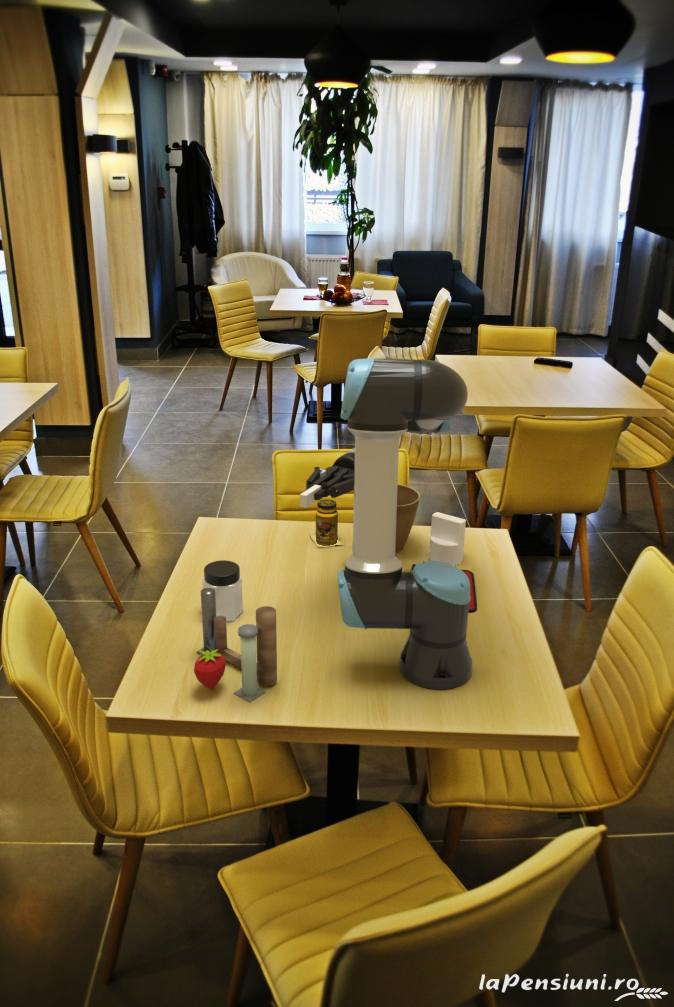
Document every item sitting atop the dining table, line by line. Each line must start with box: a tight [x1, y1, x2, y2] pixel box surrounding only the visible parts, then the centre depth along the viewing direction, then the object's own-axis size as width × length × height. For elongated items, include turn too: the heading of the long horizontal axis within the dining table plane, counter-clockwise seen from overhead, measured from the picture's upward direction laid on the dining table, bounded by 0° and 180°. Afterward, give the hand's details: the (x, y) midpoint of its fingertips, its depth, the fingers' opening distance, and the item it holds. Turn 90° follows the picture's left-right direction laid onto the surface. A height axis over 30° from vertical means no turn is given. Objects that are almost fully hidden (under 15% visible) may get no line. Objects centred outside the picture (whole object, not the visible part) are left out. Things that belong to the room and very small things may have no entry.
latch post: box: [233, 623, 266, 703], centre depth 167 cm, size 4×4×15 cm
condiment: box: [315, 498, 339, 546], centre depth 233 cm, size 7×8×12 cm
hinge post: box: [195, 588, 216, 656], centre depth 180 cm, size 4×4×15 cm
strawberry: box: [193, 645, 227, 691], centre depth 169 cm, size 6×8×10 cm
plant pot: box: [395, 483, 421, 554], centre depth 228 cm, size 15×15×16 cm
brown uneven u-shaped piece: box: [215, 605, 278, 686], centre depth 173 cm, size 17×4×16 cm, turn 50°
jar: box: [202, 559, 244, 623], centre depth 196 cm, size 9×8×12 cm
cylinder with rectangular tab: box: [428, 511, 467, 566], centre depth 224 cm, size 9×9×12 cm
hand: (303, 501), depth 179 cm, fingers closed
